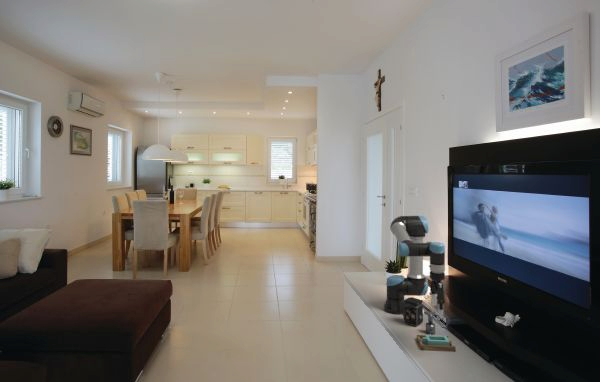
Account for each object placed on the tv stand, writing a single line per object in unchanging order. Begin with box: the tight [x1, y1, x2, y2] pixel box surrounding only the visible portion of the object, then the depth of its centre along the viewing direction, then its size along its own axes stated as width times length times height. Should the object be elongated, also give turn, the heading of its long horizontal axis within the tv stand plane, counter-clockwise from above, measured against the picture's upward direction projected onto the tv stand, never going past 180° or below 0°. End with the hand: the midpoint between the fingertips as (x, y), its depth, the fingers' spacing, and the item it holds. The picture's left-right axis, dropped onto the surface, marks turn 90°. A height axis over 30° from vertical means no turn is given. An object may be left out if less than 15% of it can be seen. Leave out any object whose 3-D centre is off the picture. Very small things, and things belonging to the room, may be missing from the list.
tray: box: [416, 334, 456, 352], centre depth 191 cm, size 13×17×2 cm
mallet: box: [424, 310, 437, 335], centre depth 206 cm, size 5×6×12 cm
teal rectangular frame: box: [422, 334, 450, 346], centre depth 191 cm, size 13×7×3 cm, turn 83°
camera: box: [402, 296, 424, 327], centre depth 220 cm, size 10×11×15 cm
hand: (437, 310), depth 191 cm, fingers open, 13 cm apart
